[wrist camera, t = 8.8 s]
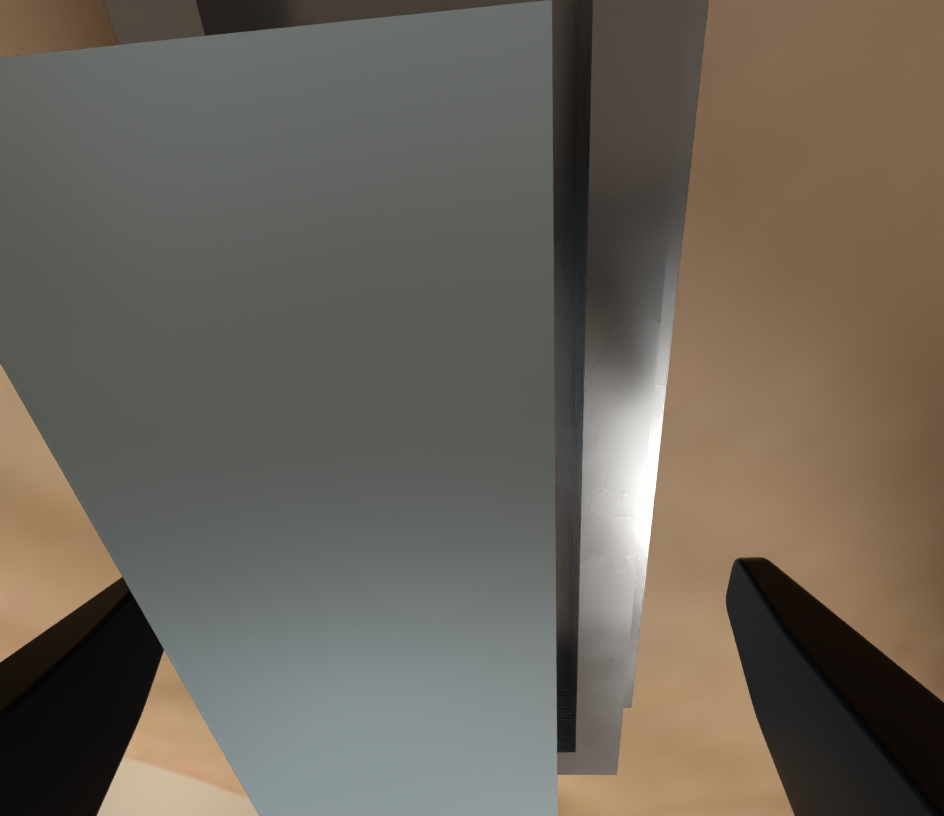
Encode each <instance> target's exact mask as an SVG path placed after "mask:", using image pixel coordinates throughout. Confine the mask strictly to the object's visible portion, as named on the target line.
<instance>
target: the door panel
mask: <svg viewBox="0 0 944 816" xmlns="http://www.w3.org/2000/svg"><path fill="white" fill-rule="evenodd" d="M0 363H1V365H2V367H3V369H4V370H5V372H6V374H7V376H8V377H9V379H10V381H11V383H12V384H13V386H14V388H15V390H16V391H17V393H18V395H19V397H20V398H21V400H22V402H23V404H24V405H25V407H26V409H27V411H28V412H29V414H30V416H31V418H32V419H33V421H34V423H35V425H36V426H37V428H38V430H39V432H40V433H41V435H42V437H43V439H44V440H45V442H46V444H47V446H48V447H49V449H50V451H51V453H52V454H53V456H54V458H55V460H56V461H57V463H58V465H59V467H60V468H61V470H62V472H63V474H64V475H65V477H66V479H67V481H68V482H69V484H70V486H71V488H72V489H73V491H74V493H75V495H76V496H77V498H78V500H79V502H80V503H81V505H82V507H83V509H84V510H85V512H86V514H87V516H88V517H89V519H90V521H91V523H92V524H93V526H94V528H95V529H96V531H97V533H98V535H99V536H100V538H101V540H102V542H103V543H104V545H105V547H106V549H107V550H108V552H109V554H110V556H111V557H112V559H113V561H114V563H115V564H116V566H117V568H118V570H119V571H120V573H121V575H122V577H123V578H124V580H125V582H126V584H127V585H128V587H129V589H130V591H131V592H132V594H133V596H134V598H135V599H136V601H137V603H138V605H139V606H140V608H141V610H142V612H143V613H144V615H145V617H146V619H147V620H148V622H149V624H150V626H151V627H152V629H153V631H154V633H155V634H156V636H157V638H158V640H159V641H160V643H161V645H162V647H163V648H164V650H165V652H166V654H167V655H168V657H169V659H170V661H171V662H172V664H173V666H174V668H175V669H176V671H177V673H178V675H179V676H180V678H181V680H182V682H183V683H184V685H185V687H186V689H187V690H188V692H189V694H190V696H191V697H192V699H193V701H194V703H195V704H196V706H197V708H198V710H199V711H200V713H201V715H202V717H203V718H204V720H205V722H206V724H207V725H208V727H209V729H210V731H211V732H212V734H213V736H214V738H215V739H216V741H217V743H218V745H219V746H220V748H221V750H222V752H223V753H224V755H225V757H226V759H227V760H228V762H229V764H230V766H231V767H232V769H233V771H234V773H235V774H236V776H237V778H238V780H239V781H240V783H241V785H242V787H243V788H244V790H245V792H246V794H247V795H248V797H249V799H250V801H251V802H252V804H253V806H254V807H255V809H256V811H257V813H258V814H259V816H557V674H556V527H555V380H554V234H553V87H552V0H545V1H536V2H526V3H517V4H507V5H497V6H488V7H478V8H469V9H459V10H449V11H440V12H430V13H421V14H411V15H401V16H392V17H382V18H372V19H363V20H353V21H344V22H334V23H324V24H315V25H305V26H296V27H286V28H276V29H267V30H257V31H248V32H238V33H228V34H219V35H209V36H199V37H190V38H180V39H171V40H161V41H151V42H142V43H132V44H123V45H113V46H103V47H94V48H84V49H75V50H65V51H55V52H46V53H36V54H26V55H17V56H7V57H0Z"/></svg>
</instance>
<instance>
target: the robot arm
mask: <svg viewBox="0 0 944 816" xmlns="http://www.w3.org/2000/svg"><path fill="white" fill-rule="evenodd" d="M726 607H727V612H728V616H729V619H730V623H731V627H732V630H733V634H734V638H735V642H736V645H737V649H738V653H739V656H740V660H741V664H742V667H743V671H744V675H745V678H746V682H747V686H748V689H749V693H750V697H751V700H752V704H753V707H754V710H755V714H756V717H757V719H758V722H759V725H760V728H761V730H762V733H763V736H764V738H765V741H766V743H767V746H768V748H769V751H770V754H771V756H772V759H773V761H774V764H775V766H776V769H777V772H778V774H779V777H780V779H781V782H782V784H783V787H784V790H785V792H786V795H787V797H788V800H789V802H790V805H791V808H792V810H793V813H794V815H795V816H944V702H943V701H941V700H940V699H939V698H938V697H937V696H935V695H934V694H933V693H932V692H930V691H929V690H928V689H927V688H925V687H924V686H923V685H922V684H921V683H919V682H918V681H917V680H916V679H914V678H913V677H912V676H911V675H909V674H908V673H907V672H906V671H905V670H903V669H902V668H901V667H900V666H898V665H897V664H896V663H895V662H893V661H892V660H891V659H890V658H889V657H887V656H886V655H885V654H884V653H882V652H881V651H880V650H879V649H878V648H876V647H875V646H874V645H873V644H871V643H870V642H869V641H868V640H866V639H865V638H864V637H863V636H862V635H860V634H859V633H858V632H857V631H855V630H854V629H853V628H852V627H850V626H849V625H848V624H847V623H846V622H844V621H843V620H842V619H841V618H839V617H838V616H837V615H836V614H834V613H833V612H832V611H831V610H830V609H828V608H827V607H826V606H825V605H823V604H822V603H821V602H820V601H819V600H817V599H816V598H815V597H814V596H812V595H811V594H810V593H809V592H807V591H806V590H805V589H804V588H803V587H801V586H800V585H799V584H798V583H796V582H795V581H794V580H793V579H791V578H790V577H789V576H788V575H787V574H785V573H784V572H783V571H782V570H780V569H779V568H778V567H777V566H775V565H774V564H773V563H772V562H771V561H769V560H767V559H765V558H762V557H749V558H738V559H736V560H735V561H734V563H733V566H732V571H731V575H730V580H729V584H728V589H727V593H726ZM163 651H164V648H163V647H162V645H161V643H160V641H159V640H158V638H157V636H156V634H155V633H154V631H153V629H152V627H151V626H150V624H149V622H148V620H147V619H146V617H145V615H144V613H143V612H142V610H141V608H140V606H139V605H138V603H137V601H136V599H135V598H134V596H133V594H132V592H131V591H130V589H129V587H128V585H127V584H126V582H125V580H124V578H123V577H122V578H120V579H119V580H117V581H116V582H115V583H113V584H112V585H110V586H109V587H107V588H106V589H105V590H103V591H102V592H100V593H99V594H97V595H96V596H95V597H93V598H92V599H90V600H89V601H88V602H86V603H85V604H83V605H82V606H80V607H79V608H78V609H76V610H75V611H73V612H72V613H70V614H69V615H68V616H66V617H65V618H63V619H62V620H60V621H59V622H58V623H56V624H55V625H53V626H52V627H50V628H49V629H48V630H46V631H45V632H43V633H42V634H40V635H39V636H38V637H36V638H35V639H33V640H32V641H30V642H29V643H28V644H26V645H25V646H23V647H22V648H20V649H19V650H18V651H16V652H15V653H13V654H12V655H10V656H9V657H8V658H6V659H5V660H3V661H2V662H1V663H0V816H97V814H98V811H99V809H100V807H101V805H102V802H103V800H104V798H105V796H106V794H107V791H108V789H109V787H110V785H111V782H112V780H113V778H114V776H115V774H116V771H117V769H118V767H119V765H120V762H121V760H122V758H123V756H124V754H125V751H126V749H127V747H128V745H129V742H130V740H131V738H132V736H133V734H134V731H135V729H136V726H137V724H138V722H139V719H140V717H141V714H142V712H143V709H144V706H145V704H146V701H147V698H148V695H149V692H150V689H151V686H152V684H153V681H154V678H155V675H156V672H157V669H158V666H159V663H160V660H161V657H162V654H163Z"/></svg>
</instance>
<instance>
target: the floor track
mask: <svg viewBox="0 0 944 816" xmlns="http://www.w3.org/2000/svg"><path fill="white" fill-rule="evenodd" d="M103 1H104V4H105V7H106V10H107V13H108V16H109V19H110V22H111V25H112V28H113V31H114V34H115V37H116V39H117V42H118V45H123V44H132V43H142V42H151V41H161V40H171V39H180V38H190V37H199V36H209V35H219V34H228V33H238V32H248V31H257V30H267V29H276V28H286V27H296V26H305V25H315V24H324V23H334V22H344V21H353V20H363V19H372V18H382V17H392V16H401V15H411V14H421V13H430V12H440V11H449V10H459V9H469V8H478V7H488V6H497V5H507V4H517V3H526V2H536V1H545V0H103ZM707 9H708V0H552V87H553V234H554V380H555V527H556V674H557V775H617V768H618V757H619V747H620V737H621V726H622V716H623V708H631V706H632V696H633V687H634V678H635V669H636V660H637V651H638V641H639V632H640V623H641V614H642V605H643V596H644V587H645V577H646V568H647V559H648V550H649V541H650V532H651V522H652V513H653V504H654V495H655V486H656V477H657V467H658V458H659V449H660V440H661V431H662V422H663V412H664V403H665V394H666V385H667V376H668V367H669V357H670V348H671V339H672V330H673V321H674V312H675V303H676V293H677V284H678V275H679V266H680V257H681V248H682V238H683V229H684V220H685V211H686V202H687V193H688V183H689V174H690V165H691V156H692V147H693V138H694V128H695V119H696V110H697V101H698V92H699V83H700V73H701V64H702V55H703V46H704V37H705V28H706V19H707Z"/></svg>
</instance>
